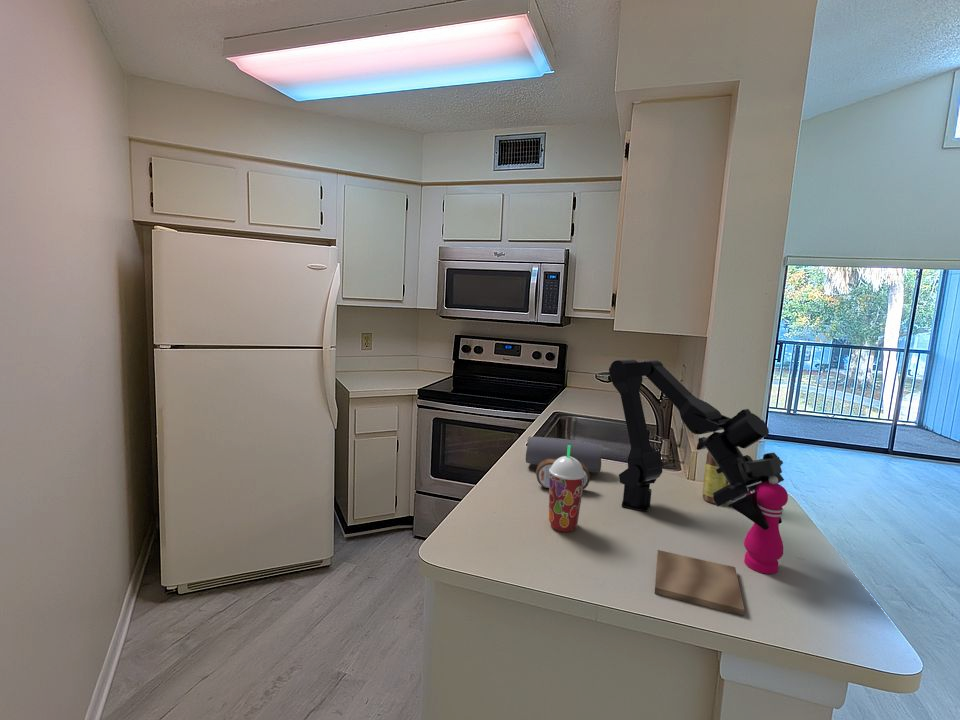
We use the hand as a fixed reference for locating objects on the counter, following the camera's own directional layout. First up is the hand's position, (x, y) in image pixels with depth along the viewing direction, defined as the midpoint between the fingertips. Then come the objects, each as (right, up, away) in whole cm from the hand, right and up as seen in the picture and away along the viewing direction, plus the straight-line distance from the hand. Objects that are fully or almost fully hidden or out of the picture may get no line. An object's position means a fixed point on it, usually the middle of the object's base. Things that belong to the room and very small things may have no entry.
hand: (773, 526), depth 102 cm
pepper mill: (-1, -9, +3) cm, 10 cm away
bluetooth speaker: (-35, 0, +53) cm, 63 cm away
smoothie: (-41, -5, +16) cm, 44 cm away
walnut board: (-18, -9, -5) cm, 21 cm away
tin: (-38, -2, +38) cm, 53 cm away
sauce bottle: (+4, -5, +36) cm, 36 cm away
